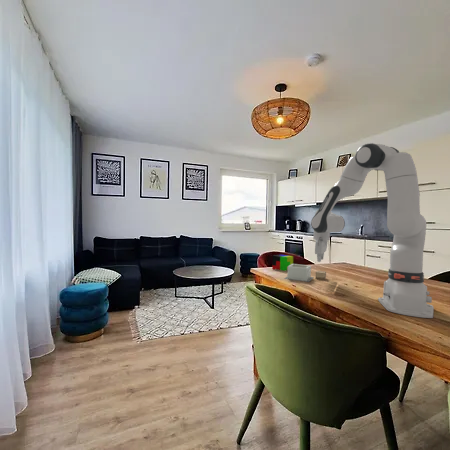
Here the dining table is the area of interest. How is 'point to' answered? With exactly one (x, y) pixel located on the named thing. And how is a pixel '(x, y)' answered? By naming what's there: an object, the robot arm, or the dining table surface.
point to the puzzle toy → (281, 262)
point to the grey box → (299, 272)
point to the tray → (302, 280)
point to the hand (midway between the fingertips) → (320, 260)
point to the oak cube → (320, 275)
